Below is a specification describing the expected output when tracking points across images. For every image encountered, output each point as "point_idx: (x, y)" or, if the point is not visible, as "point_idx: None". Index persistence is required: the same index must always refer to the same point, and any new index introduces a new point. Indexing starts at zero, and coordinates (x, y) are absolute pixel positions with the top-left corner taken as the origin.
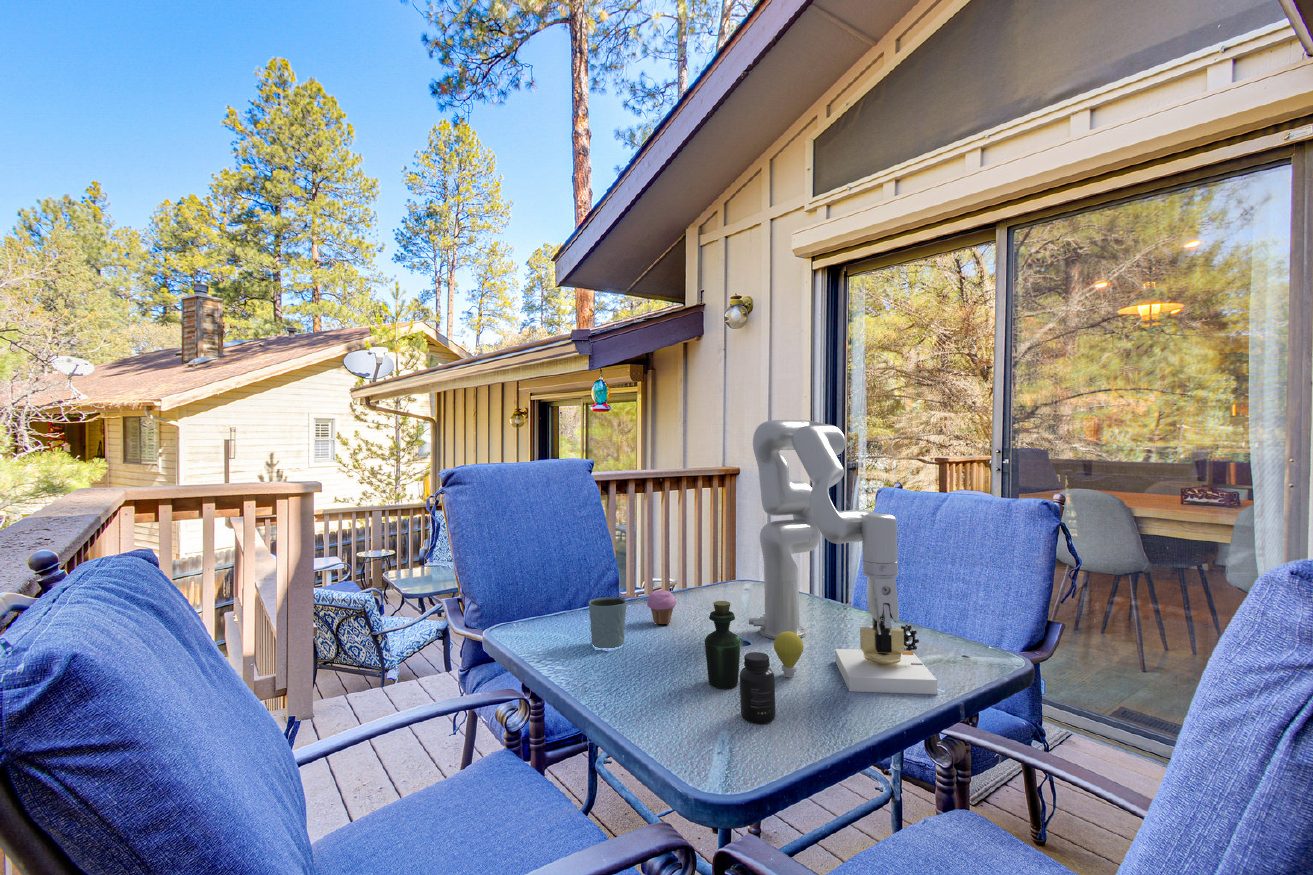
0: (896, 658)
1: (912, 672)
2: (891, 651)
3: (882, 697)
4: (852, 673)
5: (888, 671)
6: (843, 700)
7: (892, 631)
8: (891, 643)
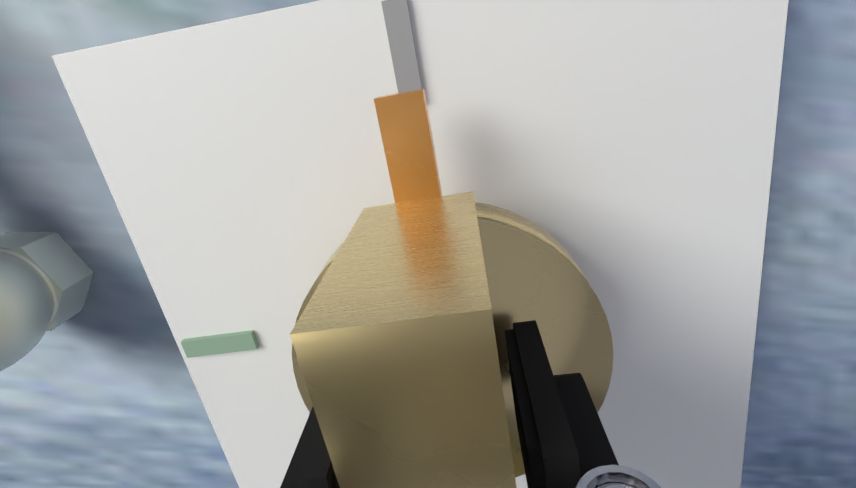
0: (569, 261)
1: (618, 115)
2: (533, 320)
3: (777, 296)
4: (675, 482)
5: (616, 288)
6: (813, 462)
7: (511, 457)
8: (549, 369)
